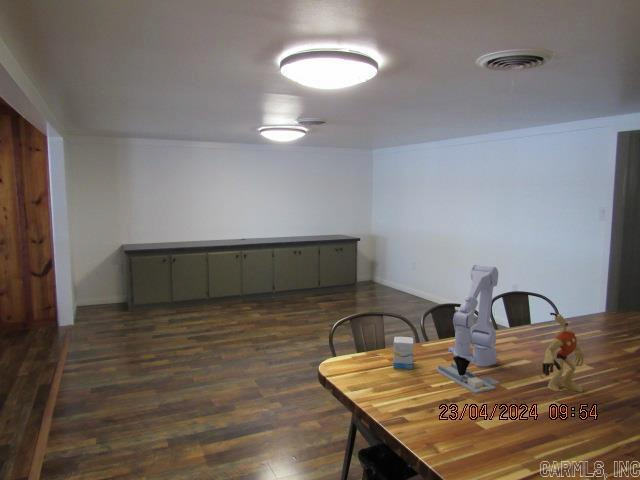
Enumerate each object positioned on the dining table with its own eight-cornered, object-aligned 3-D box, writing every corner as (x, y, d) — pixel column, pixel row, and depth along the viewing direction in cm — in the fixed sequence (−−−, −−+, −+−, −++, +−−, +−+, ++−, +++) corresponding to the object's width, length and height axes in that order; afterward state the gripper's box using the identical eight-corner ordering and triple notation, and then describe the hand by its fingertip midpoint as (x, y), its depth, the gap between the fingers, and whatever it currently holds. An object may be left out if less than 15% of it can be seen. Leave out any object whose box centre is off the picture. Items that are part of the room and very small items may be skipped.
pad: (488, 380, 177) (488, 376, 177) (499, 386, 172) (499, 382, 171) (478, 382, 175) (478, 378, 175) (489, 388, 170) (490, 384, 169)
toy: (550, 404, 157) (554, 321, 154) (528, 394, 164) (532, 315, 161) (589, 390, 167) (594, 313, 164) (568, 381, 175) (571, 307, 172)
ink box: (413, 369, 188) (413, 343, 187) (393, 368, 190) (393, 342, 189) (413, 362, 196) (413, 337, 195) (393, 361, 198) (394, 335, 197)
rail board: (455, 370, 187) (455, 362, 187) (495, 392, 166) (496, 383, 166) (435, 374, 183) (435, 365, 183) (474, 397, 162) (475, 388, 162)
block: (476, 376, 171) (483, 381, 167) (475, 386, 171) (482, 391, 168) (467, 378, 170) (474, 382, 166) (467, 388, 170) (474, 392, 166)
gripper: (442, 337, 180) (442, 369, 181) (467, 349, 166) (466, 383, 168) (456, 335, 182) (455, 367, 184) (482, 346, 169) (481, 380, 171)
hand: (461, 374), depth 176 cm, fingers closed
